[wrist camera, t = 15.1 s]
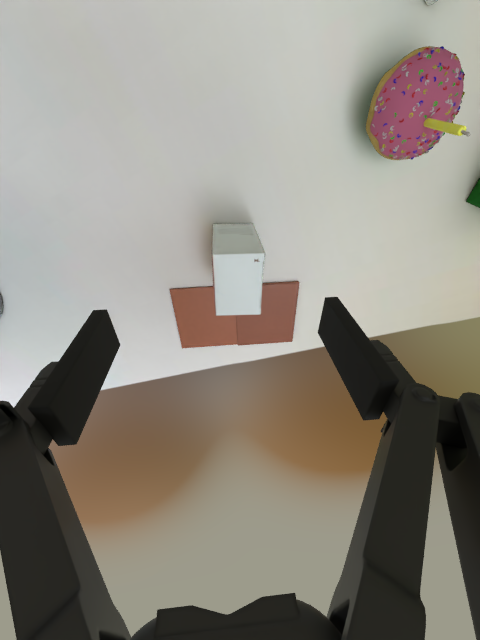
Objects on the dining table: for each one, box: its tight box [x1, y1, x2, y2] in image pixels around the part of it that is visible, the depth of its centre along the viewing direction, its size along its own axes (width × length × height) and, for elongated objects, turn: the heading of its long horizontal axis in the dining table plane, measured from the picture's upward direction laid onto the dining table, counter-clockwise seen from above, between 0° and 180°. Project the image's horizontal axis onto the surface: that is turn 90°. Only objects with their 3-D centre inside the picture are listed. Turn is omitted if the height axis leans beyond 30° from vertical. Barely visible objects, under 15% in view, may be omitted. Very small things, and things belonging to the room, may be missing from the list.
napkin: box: [170, 281, 299, 348], centre depth 43 cm, size 20×12×1 cm, turn 92°
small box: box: [212, 223, 265, 316], centre depth 33 cm, size 8×6×10 cm
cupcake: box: [366, 46, 470, 160], centre depth 24 cm, size 9×8×12 cm
